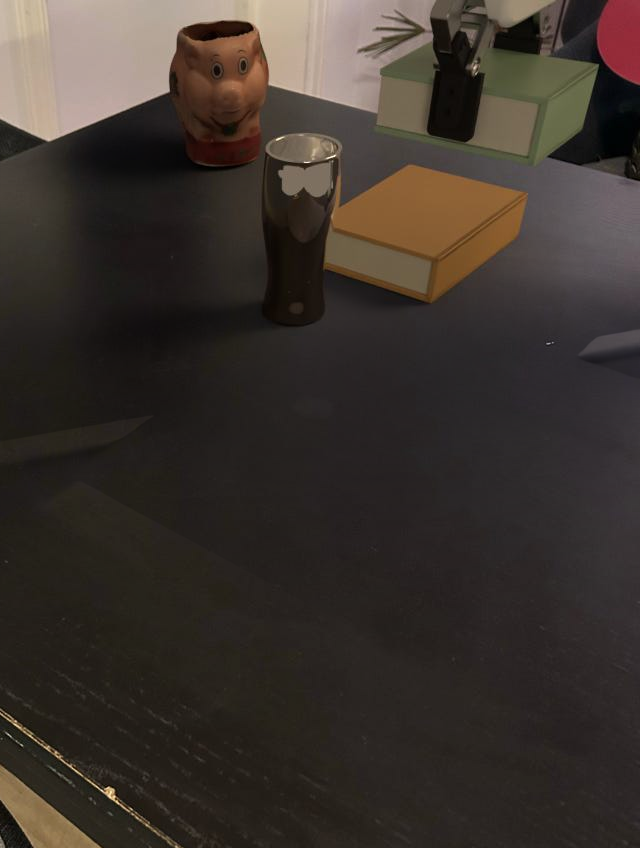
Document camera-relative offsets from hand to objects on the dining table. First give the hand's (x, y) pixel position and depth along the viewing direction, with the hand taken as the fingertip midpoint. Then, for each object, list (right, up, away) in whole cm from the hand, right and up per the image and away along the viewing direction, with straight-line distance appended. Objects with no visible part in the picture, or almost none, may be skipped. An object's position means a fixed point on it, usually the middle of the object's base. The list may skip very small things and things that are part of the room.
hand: (479, 116), depth 63 cm
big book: (+5, +5, +33) cm, 34 cm away
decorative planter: (-15, +27, +55) cm, 63 cm away
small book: (0, -1, +1) cm, 1 cm away
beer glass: (-9, -4, +26) cm, 28 cm away
